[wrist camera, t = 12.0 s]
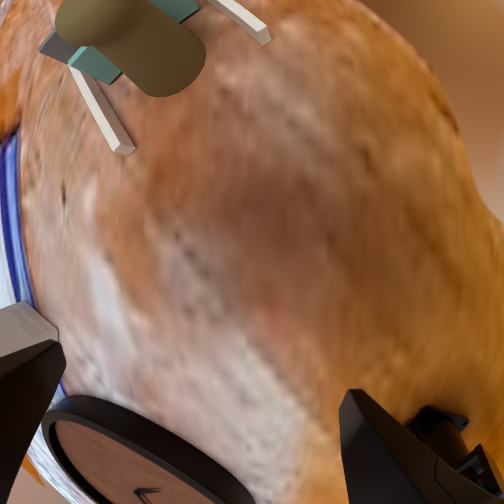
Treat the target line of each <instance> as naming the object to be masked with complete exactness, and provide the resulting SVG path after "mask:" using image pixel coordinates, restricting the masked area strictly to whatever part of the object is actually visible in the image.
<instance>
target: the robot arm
mask: <svg viewBox="0 0 504 504" xmlns="http://www.w3.org/2000/svg"><path fill="white" fill-rule="evenodd" d="M65 368H66V359H65V355H64V352H63V349H62V345H61V343H60V342H58V341H56V340H53V339H48V340H45V341H42V342H40V343H37V344H34V345H32V346H29V347H26V348H24V349H21V350H18V351H16V352H13V353H10V354H7V355H5V356H2V357H0V504H6V503H7V500H8V498H9V495H10V492H11V489H12V486H13V483H14V481H15V478H16V476H17V474H18V471H19V468H20V466H21V464H22V462H23V459H24V457H25V455H26V452H27V450H28V448H29V446H30V444H31V442H32V439H33V437H34V435H35V433H36V431H37V429H38V427H39V425H40V423H41V421H42V419H43V417H44V415H45V413H46V411H47V409H48V407H49V405H50V403H51V401H52V399H53V397H54V394H55V392H56V389H57V387H58V384H59V382H60V380H61V377H62V375H63V373H64V370H65ZM427 411H428V412H427ZM425 412H426V413H425ZM468 423H469V419H468V417H465V416H461V415H458V414H454V413H451V412H448V411H444V410H441V409H438V408H434V407H431V406H426V407H424V408H423V409H422V410H421V411H420V412H419V414H418V415H417V416H416V417H415V418H414V419H413V420H412V422H411V423H410V424H409V425H408V426H407V427H406V428H405V427H404V426H402V425H401V424H400V423H399V422H398V421H397V420H396V419H395V418H393V417H392V416H391V415H390V414H389V413H388V412H387V411H386V410H384V409H383V408H382V407H381V406H380V405H379V404H378V403H377V402H376V401H375V400H373V399H372V398H371V397H370V396H369V395H368V394H367V393H366V392H365V391H364V390H362V389H349V390H348V391H347V392H346V394H345V396H344V399H343V401H342V403H341V405H340V407H339V426H340V442H341V456H342V462H343V468H344V474H345V480H346V486H347V492H348V498H349V504H504V481H503V478H502V475H501V473H500V471H499V469H498V467H497V466H496V464H495V462H494V460H493V459H492V457H491V456H490V455H489V454H488V452H487V451H486V450H485V449H484V447H483V446H482V445H481V444H479V445H477V446H476V447H475V449H474V450H473V451H471V452H470V453H469V451H468V449H467V447H466V445H465V443H464V441H463V439H462V437H461V435H460V433H461V431H462V430H463V429H464V428H465V427H466V426H467V425H468Z"/></svg>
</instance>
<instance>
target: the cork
mask: <svg viewBox="0 0 504 504" xmlns="http://www.w3.org/2000/svg"><path fill="white" fill-rule="evenodd" d="M55 28H56V31H57V34H58V35H59V36H60V37H61V38H62V39H63V40H64V41H66V42H67V43H69V44H71V45H74V46H80V47H90V46H94V47H95V48H96V49H97V50H98V51H99V52H100V53H101V54H103V55H104V56H105V57H106V58H107V59H108V60H109V61H110V62H112V63H113V64H114V65H115V66H116V67H117V68H118V69H119V70H120V71H122V72H123V73H124V74H125V75H126V76H127V77H128V78H129V79H130V80H131V81H132V82H134V83H135V84H136V85H137V86H138V87H139V88H140V89H141V90H142V91H144V92H145V93H146V94H147V95H150V96H154V97H166V96H169V95H172V94H175V93H178V92H179V91H181V90H182V89H184V88H185V87H187V86H188V85H189V84H190V83H191V82H192V81H193V80H194V79H195V78H196V77H197V76H198V74H199V73H200V71H201V69H202V67H203V66H204V62H205V57H206V53H205V47H204V45H203V44H202V42H201V41H200V40H199V39H198V38H197V37H196V36H195V35H193V34H192V33H191V32H190V31H188V30H187V29H186V28H185V27H183V26H182V25H181V24H180V23H178V22H177V21H176V20H174V19H173V18H172V17H170V16H169V15H168V14H166V13H165V12H164V11H162V10H161V9H159V8H158V7H157V6H155V5H154V4H152V3H151V2H150V1H148V0H64V1H63V2H62V4H61V5H60V7H59V9H58V11H57V14H56V18H55Z"/></svg>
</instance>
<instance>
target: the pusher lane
mask: <svg viewBox="0 0 504 504" xmlns="http://www.w3.org/2000/svg"><path fill="white" fill-rule="evenodd" d="M207 1H208V2H209V3H211V4H212V5H213V6H215V7H216V8H217V9H219V10H220V11H221V12H223V13H224V14H225V15H227V16H228V17H229V18H230V19H232V20H233V21H234V22H235V23H236V24H238V25H239V26H240V27H241V28H243V29H244V30H245V31H246V32H247V33H248V34H250V35H251V36H252V37H253V38H254V39H255V40H256V41H258V42H259V43H260V44H261V45H262V46H264V45H265V44H267V43H269V42H270V41H272V40H271V37H270V34H269V31H268V28H267V26H266V25H265V24H264V23H263V22H261V21H260V20H259V19H258V18H256V17H255V16H254V15H253V14H251V13H250V12H249V11H247V10H246V9H245V8H243V7H242V6H241V5H239V4H238V3H236V2H235V1H234V0H207ZM79 48H80V46H74V45H71V44H69V43H67V42H66V41H64V40H63V39H62V38H61V37H60V36H59V35H58V34H57V31H56V28H54V29H53V31H52V32H51V33H50V34H49V35H48V36H47V38H46V39H45V40H44V41H43V43H42V44H41V45H40V46H39V48H38V51H39V52H40V53H42V54H45V55H47V56H49V57H52V58H54V59H56V60H59V61H61V62H63V63H65V64H68V66H69V68H70V70H71V72H72V74H73V76H74V79H75V81H76V83H77V85H78V87H79V89H80V91H81V93H82V95H83V97H84V98H85V100H86V102H87V104H88V106H89V108H90V110H91V112H92V114H93V116H94V118H95V119H96V121H97V123H98V125H99V127H100V129H101V131H102V132H103V134H104V136H105V138H106V140H107V141H108V143H109V145H110V147H111V148H112V150H113V152H117V153H121V154H126V155H130V154H131V153H132V152H133V151H134V150H135V149H136V147H135V146H134V144H133V142H132V141H131V139H130V138H129V136H128V134H127V133H126V131H125V130H124V128H123V126H122V125H121V123H120V121H119V120H118V118H117V116H116V115H115V113H114V111H113V110H112V108H111V106H110V105H109V103H108V101H107V100H106V98H105V96H104V95H103V93H102V91H101V90H100V88H99V86H98V84H97V83H96V81H95V79H94V77H92V76H90V75H88V74H86V73H83V72H81V71H79V70H77V69H75V68H73V67H70V65H69V63H68V61H69V60H70V58H71V57H72V56H73V55H74V54H75V53H76V52H77V50H78V49H79Z"/></svg>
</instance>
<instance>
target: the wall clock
mask: <svg viewBox="0 0 504 504" xmlns="http://www.w3.org/2000/svg"><path fill="white" fill-rule="evenodd" d="M41 427H42V433H43V437H44V439H45V442H46V444H47V446H48V448H49V450H50V452H51V454H52V456H53V457H54V459H55V460H56V462H57V463H58V465H59V466H60V467H61V469H62V470H63V471H64V473H65V474H66V475H67V476H68V477H69V478H70V480H71V481H72V482H73V483H74V484H75V485H76V486H77V487H78V488H79V489H80V490H81V491H82V492H83V493H84V494H86V495H87V496H88V497H89V498H90V499H91V500H92V501H94V502H95V503H96V504H256V503H255V501H254V499H253V497H252V496H251V494H250V493H249V492H248V490H247V489H246V488H245V487H244V486H243V485H242V484H241V483H240V482H239V481H238V480H237V479H236V478H235V477H234V476H233V475H232V474H231V473H230V472H228V471H227V470H226V469H225V468H223V467H222V466H221V465H220V464H218V463H217V462H216V461H214V460H213V459H212V458H210V457H209V456H207V455H206V454H204V453H203V452H202V451H200V450H199V449H197V448H196V447H194V446H193V445H191V444H190V443H188V442H186V441H185V440H183V439H182V438H180V437H178V436H177V435H175V434H173V433H172V432H170V431H168V430H166V429H165V428H163V427H161V426H159V425H158V424H156V423H154V422H152V421H150V420H148V419H146V418H144V417H142V416H141V415H139V414H137V413H134V412H132V411H130V410H128V409H126V408H124V407H121V406H119V405H116V404H114V403H111V402H109V401H106V400H103V399H99V398H96V397H91V396H86V395H72V396H68V397H66V398H64V399H63V400H61V401H60V402H59V403H57V404H56V405H55V406H53V407H52V408H51V409H49V410H48V411H47V412H46V413H45V415H44V417H43V419H42V421H41Z"/></svg>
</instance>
